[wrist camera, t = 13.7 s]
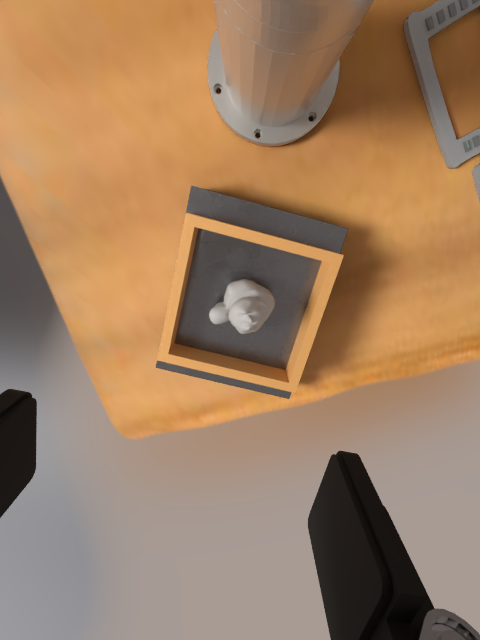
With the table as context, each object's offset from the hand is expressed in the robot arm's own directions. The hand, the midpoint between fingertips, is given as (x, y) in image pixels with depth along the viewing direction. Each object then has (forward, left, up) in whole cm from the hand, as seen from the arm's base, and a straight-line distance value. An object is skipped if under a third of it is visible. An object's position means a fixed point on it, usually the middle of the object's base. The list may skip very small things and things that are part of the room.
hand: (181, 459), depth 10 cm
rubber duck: (+1, +2, -25) cm, 25 cm away
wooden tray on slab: (+1, +2, -29) cm, 29 cm away
